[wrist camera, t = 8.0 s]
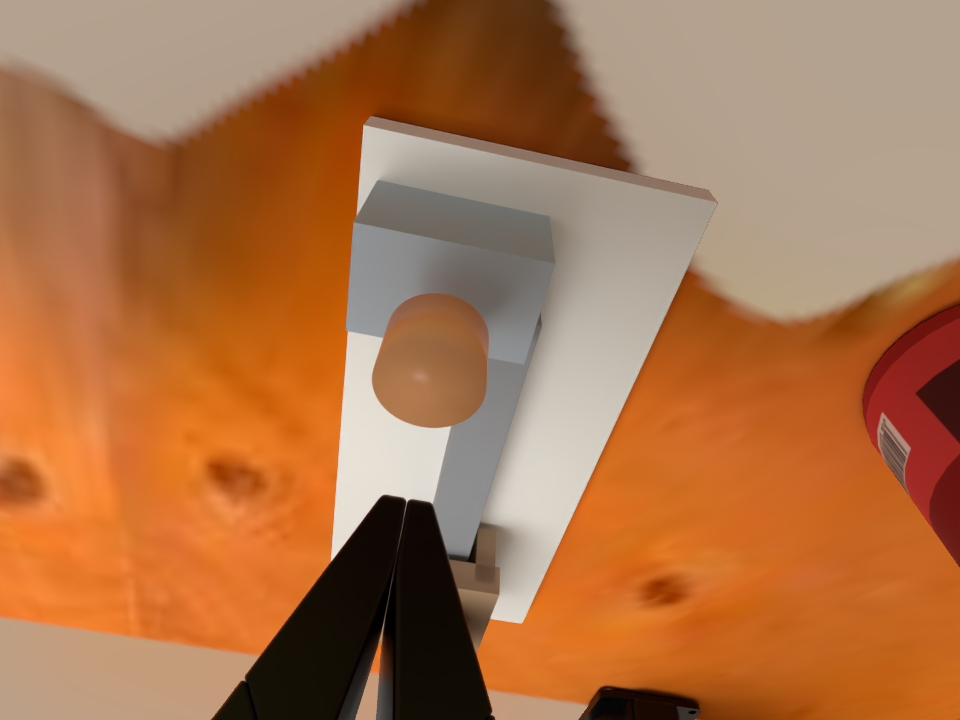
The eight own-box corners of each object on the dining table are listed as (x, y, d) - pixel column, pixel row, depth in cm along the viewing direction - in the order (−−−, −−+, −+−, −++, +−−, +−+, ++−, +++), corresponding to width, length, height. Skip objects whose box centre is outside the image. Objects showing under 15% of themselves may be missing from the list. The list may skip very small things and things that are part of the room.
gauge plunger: (477, 385, 14) (474, 436, 13) (382, 367, 14) (367, 417, 13) (499, 304, 13) (497, 350, 11) (392, 283, 13) (377, 328, 11)
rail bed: (521, 605, 30) (522, 684, 27) (333, 576, 30) (311, 653, 26) (708, 190, 17) (753, 249, 14) (371, 115, 16) (335, 159, 13)
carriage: (478, 593, 28) (468, 776, 22) (387, 579, 27) (352, 761, 21) (500, 530, 25) (496, 722, 19) (399, 513, 24) (362, 703, 18)
